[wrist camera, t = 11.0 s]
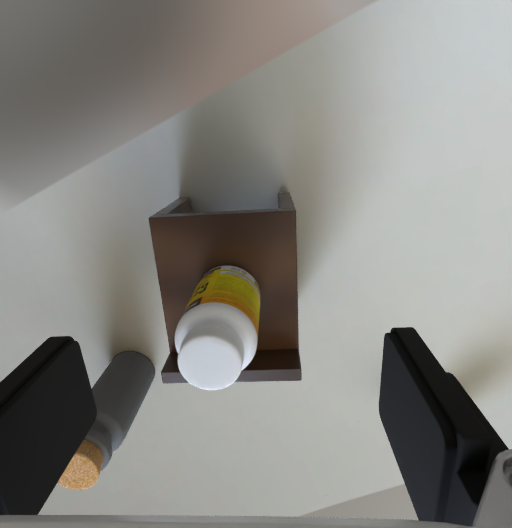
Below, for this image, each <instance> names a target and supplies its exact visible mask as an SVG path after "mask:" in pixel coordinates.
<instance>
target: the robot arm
mask: <svg viewBox="0 0 512 528" xmlns="http://www.w3.org/2000/svg"><path fill="white" fill-rule="evenodd" d="M379 413H380V418H381V421H382V423H383V426H384V429H385V431H386V434H387V437H388V439H389V442H390V445H391V447H392V450H393V453H394V455H395V458H396V461H397V463H398V466H399V469H400V471H401V474H402V477H403V479H404V482H405V485H406V487H407V490H408V493H409V495H410V498H411V501H412V503H413V506H414V508H415V511H416V514H417V517H418V519H419V521H418V520H401V519H371V518H339V517H336V518H335V517H267V516H164V515H38V513H39V512H40V510H41V508H42V507H43V505H44V503H45V502H46V500H47V499H48V497H49V495H50V494H51V492H52V490H53V489H54V487H55V486H56V484H57V482H58V481H59V479H60V477H61V476H62V474H63V473H64V471H65V469H66V468H67V466H68V464H69V463H70V461H71V459H72V458H73V456H74V455H75V453H76V451H77V450H78V448H79V446H80V445H81V443H82V442H83V440H84V438H85V437H86V435H87V433H88V432H89V430H90V429H91V427H92V425H93V424H94V422H95V420H96V416H97V408H96V404H95V400H94V397H93V393H92V389H91V386H90V382H89V378H88V375H87V371H86V367H85V364H84V360H83V356H82V353H81V349H80V345H79V343H78V342H77V341H74V339H73V338H72V337H70V336H62V337H50V338H48V339H47V340H46V341H45V342H44V343H43V344H42V345H41V346H39V347H38V348H37V349H36V350H35V351H34V352H33V353H32V354H31V355H30V356H29V357H27V358H26V359H25V360H24V361H23V362H22V363H21V364H20V365H19V366H18V367H17V368H16V369H14V370H13V371H12V372H11V373H10V374H9V375H8V376H7V377H6V378H5V379H4V380H2V381H1V382H0V528H512V449H511V450H509V449H508V448H507V446H506V445H505V444H504V442H503V441H502V439H501V438H500V437H499V435H498V434H497V433H496V431H495V430H494V429H493V427H492V426H491V425H490V423H489V422H488V421H487V419H486V418H485V417H484V415H483V414H482V413H481V411H480V410H479V408H478V407H477V406H476V404H475V403H474V402H473V400H472V399H471V398H470V396H469V395H468V394H467V392H466V391H465V390H464V388H463V387H462V386H461V384H460V383H459V382H458V380H457V379H456V378H455V377H454V375H453V374H451V373H449V372H445V371H444V369H443V368H442V366H441V365H440V364H439V362H438V361H437V359H436V358H435V357H434V355H433V354H432V353H431V351H430V350H429V348H428V347H427V346H426V344H425V343H424V341H423V340H422V339H421V337H420V336H419V334H418V333H417V332H416V330H415V329H414V328H412V327H406V328H392V329H391V333H386V334H385V337H384V348H383V360H382V373H381V385H380V398H379Z"/></svg>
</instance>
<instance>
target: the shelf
mask: <svg viewBox="0 0 512 528" xmlns="http://www.w3.org/2000/svg"><path fill="white" fill-rule="evenodd" d="M278 198H279V209H263V210H243V211H223V212H203V213H191V205H190V198H189V197H188V198H179V199H177V200H176V201H174V202H173V203H171V204H169V205H168V206H166V207H165V208H163V209H162V210H160V211H159V212H157V213H156V214H154V215H152V216H151V217H149V223H150V229H151V236H152V242H153V248H154V254H155V260H156V267H157V273H158V279H159V285H160V291H161V298H162V304H163V310H164V316H165V322H166V329H167V335H168V341H169V347H170V354H169V356H168V359H167V361H166V363H165V365H164V367H163V369H162V371H161V375H162V381H163V383H189V382H188V381H187V380H186V379H185V378H184V377H183V376H182V374H181V372H180V370H179V368H178V362H177V360H178V352H177V350H176V346H175V331H176V328H177V325H178V323H179V320H180V318H181V317H182V314H183V313H184V311H185V308H186V307H187V305H188V303H189V301H190V299H191V297H192V295H193V293H194V291H195V289H196V287H197V285H198V283H199V281H200V280H201V278H202V277H203V276H204V275H205V274H206V273H207V272H208V271H210V270H212V269H213V268H216V267H219V266H235V267H238V268H241V269H243V270H245V271H246V272H248V273H249V274H250V275H251V276H252V277H253V278H254V279H255V280H256V282H257V284H258V287H259V290H260V312H259V326H258V341H257V349H256V352H255V355H254V357H253V359H252V361H251V362H250V363H249V364H248V365H247V366H246V367H245V368H244V369H243V370H241V373H240V375H239V377H238V378H237V379H236V381H235V382H254V381H299V380H301V363H300V356H299V342H298V292H297V241H296V210H295V207H294V204H293V201H292V198H291V195H290V193H289V192H283V193H278Z"/></svg>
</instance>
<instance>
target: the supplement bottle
mask: <svg viewBox="0 0 512 528" xmlns="http://www.w3.org/2000/svg"><path fill="white" fill-rule="evenodd" d="M259 312H260V290H259V287H258V284H257V282H256V280H255V279H254V278H253V277H252V276H251V275H250V274H249V273H248V272H246V271H245V270H243V269H241V268H238V267H235V266H219V267H216V268H213V269H212V270H210V271H208V272H207V273H206V274H205V275H204V276H203V277H202V278H201V280H200V281H199V283H198V285H197V287H196V289H195V291H194V293H193V295H192V297H191V299H190V301H189V303H188V305H187V307H186V308H185V311H184V313H183V314H182V317H181V318H180V320H179V323H178V325H177V328H176V331H175V346H176V350H177V352H178V360H177V362H178V368H179V370H180V372H181V374H182V376H183V377H184V378H185V379H186V380H187V381H188V382H189V383H190V384H192V385H194V386H196V387H198V388H201V389H205V390H218V389H223V388H225V387H227V386H229V385H231V384H232V383H234V382H235V381H236V379H237V378H238V377H239V375H240V373H241V370H243V369H244V368H245V367H246V366H247V365H248V364H249V363H250V362H251V361H252V359H253V357H254V355H255V352H256V349H257V341H258V326H259Z"/></svg>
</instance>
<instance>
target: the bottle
mask: <svg viewBox="0 0 512 528" xmlns="http://www.w3.org/2000/svg"><path fill="white" fill-rule="evenodd" d="M154 375H155V371H154V367H153V364H152V363H151V361H150V360H149V359H148V358H147V357H146V356H144V355H142V354H140V353H137V352H132V351H127V352H123V353H120V354H118V355H117V356H116V357H115V358H114V359H113V360H112V362H111V363H110V364H109V366H108V367H107V368H106V370H105V371H104V372H103V374H102V375H101V377H100V378H99V379H98V381H97V382H96V384H95V385H94V386H93V388H92V393H93V397H94V400H95V404H96V408H97V416H96V420H95V422H94V424H93V425H92V427H91V429H90V430H89V432H88V433H87V435H86V437H85V438H84V440H83V442H82V443H81V445H80V446H79V448H78V450H77V451H76V453H75V455H74V456H73V458H72V459H71V461H70V463H69V464H68V466H67V468H66V469H65V471H64V473H63V474H62V476H61V477H60V479H59V481H58V482H57V483H59V484H60V485H62V486H64V487H67V488H70V489H75V490H81V489H87V488H89V487H91V486H93V485H94V484H95V483H96V482H97V480H98V478H99V474H100V471H101V470H103V469H104V468H105V467H106V466H107V464H108V463H109V461H110V459H111V456H112V452H113V451H115V450H116V449H117V448H119V446H120V445H121V444H122V442H123V440H124V438H125V436H126V435H127V432H128V430H129V428H130V426H131V424H132V422H133V420H134V418H135V416H136V414H137V412H138V410H139V408H140V406H141V404H142V402H143V400H144V398H145V396H146V394H147V392H148V389H149V387H150V385H151V383H152V381H153V379H154Z"/></svg>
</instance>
